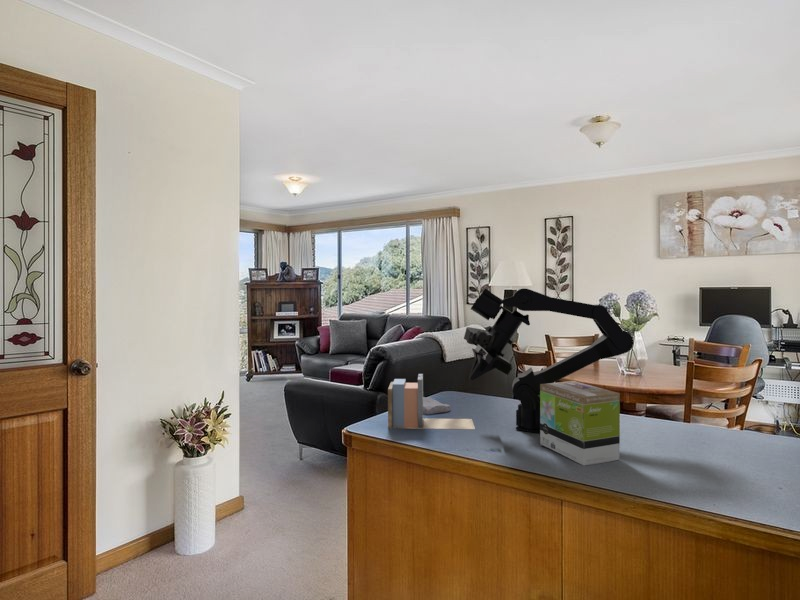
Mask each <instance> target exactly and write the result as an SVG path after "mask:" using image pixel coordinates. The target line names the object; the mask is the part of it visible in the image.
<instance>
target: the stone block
mask: <svg viewBox="0 0 800 600" xmlns="http://www.w3.org/2000/svg"><path fill="white" fill-rule="evenodd" d="M450 411H451V406H450V404H448V403H441V402H440V401H439V400H435V399H434V398H431V397H425V396H423V415H433V414H439V413H447V412H450Z"/></svg>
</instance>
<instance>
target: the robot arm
mask: <svg viewBox="0 0 800 600" xmlns="http://www.w3.org/2000/svg"><path fill="white" fill-rule="evenodd" d="M502 305H504V306H506V307H504V306H502ZM507 308H517V309H518V310H520V311H522V312H523V311H524V312H553V313H558V314H564V315H567V316H568V315H569V316H573V317H581V318H586V319H591V320H593V322H594V323H595V325H596V327H597V328H598V330H599V331H600V333H601V334H602V335H601V336H599V337H598V338H597V339H596V340H595V341H594V342H593V343H592V344H590V345H588V346H587V347H585V348H583V349H581V350H579V351H577V352H574V353H573V354H570V355H569V356H567V357H565V358H563V359H561V360H559V361H557V362H555V363H553V364H551V365H550V366H547V367H544V369H541V370H537V371H534V370H533V367H529V368H527V370H525V371H523V372H521V373H517V376H516V377H515V378H514V379H513V381H512V386H511V387H512V394H513V397H515V399H516V400H518V401H520V403H519V404H517V409H516V410H515V424H516V426H515V430H517V431H523V432H524V431H525V432H529V433H530V432H531V433H536V434H540V384H548V383H557V382H558V381H559V380H561V379H564V378H566V377H568V376H569V375H571V374H575V372H578V371H580V370H582V369H584V368H586V367H589V365H592V364H594V363H596V362H598V361H601V360H604V359H609V358H614V357H617V356H621V355H623V354H626V353H628V352H630V351H631V350H632V349H633V347H634V338H633V336H632V334H631V333H629V331H626V330H623V328H622V327H621V326H620V325H619V323H618V322H617V321H616V320H615V319H614V317H613V316H612V315H611V314H610V313H609V311H608V310H607V307H605V305H602V304H592V303H584V302H578V301H574V300H568V299H562V298H557V297H552V296H549V295H546V294H543V293H541V292H537V291H535V290H532V289H529V288H519V289H518V290H516V291H515V292H514V294H513V295H512V296H511V295H510V296H509V297H504V298H503V299H501V298H500V297H499V296H497V295H495V294H494V293H493V292H491V290H489V289H488V288H484V289H483V291H482V292H481V294H480V295H479V296H478V297H477V298H476V300H475V301H474V303H473V304H472V305H471V307H470V310H471V311H473V312H475V313H476V314H477V315H479V316H480V317H482V318H484V319H485V320H487V321H490V319H492V320H495V319H496V318H497V319H496V321H495V322H494V324H493V325H492V326H491V325H489V326H487V327H486V328H485V329H481V328H477V327H472V326H471V327H470V326H467V327H466V328H465V332H464V335H463V336H464V337H463V339H464V340H465V341H466V343H467V344H470V345H473V346H476V347H475V348H471V351H472V353H473V356H474V358H473V361H472V362H473V363H472V365H471V369H470V373H469V377H468V378H469V380H471V381H475V380H477V379H478V378H480V377H481V376H483V375H485V374H486V373H488V372H490V371H492V370H495V369H496V370H498V371H499V372H501V373H503V374H505V375H506V376H508V375H509V374H510V372H511V371H512V370H513V366H512V363H510V361H509V360H508V359H506V358H504V356H505V354H504V353H503V352H504V350H505V349H506V347H507V346H508V344H509V345H512V344H513V343H514V341H513V340H512V338H513V337H514V336H515V334H516V333H517V331H518V329H519V328H520V326H521V325H522V323H523V324H525V325H526V326H530V325H531V322H530V318H529V317H530V315H529V314H523V313H521V312H520V311H518V310H516V309H513V311H512V312H511V311H510V310H509V309H507ZM501 310H502V311H501ZM500 312H501V313H500ZM499 313H500V314H499ZM498 314H499V316H498ZM497 316H498V317H497Z"/></svg>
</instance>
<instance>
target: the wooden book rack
mask: <svg viewBox="0 0 800 600" xmlns="http://www.w3.org/2000/svg"><path fill="white" fill-rule="evenodd" d="M393 382H394V381H390V383H389V386H388V388H387V428H388V429H404V430H405V429H414V430H418V429H419V430H420V429H421V430H422V429H424V430H425V429H427V430H428V429H429V430H430V429H431V430H435V429H436V430H437V429H438V430H476V427H475V425H474V421H473V419H472V418H424V417H423V427H393V403H392V384H393Z"/></svg>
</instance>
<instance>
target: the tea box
mask: <svg viewBox="0 0 800 600" xmlns="http://www.w3.org/2000/svg"><path fill="white" fill-rule="evenodd" d="M620 396H621V393H620V392H616V391H613V390H610V389H609V390H608V389H605V388H603V387H598V386H595V385H591V384H588V383H587V384H586V383H584V382H579V381H575V380H568V381H559V382H558V381H556V382H554V383H548V384H540V433H539V434H540V435H539V436H540V438H539V439H540V446H543V447H545V448H548V449H550V450H552V451H553V452H555V453H558V454H560V455H562V456H564V457H566V458H567V459H570V460H572V461H573V462H575V463H578V465H581V466H583V467H585V466H590V465H596V464H602V463H603V464H604V463H609V462H613V461H618V460H620V448H621V447H620V441H621V440H620V437H621V436H620V435H621V433H620V432H621V431H620V429H621V428H620V423H621V417H620V415H621V414H620V413H621V411H620V410H621V405H620V404H621V402H620V401H621V397H620Z"/></svg>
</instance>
